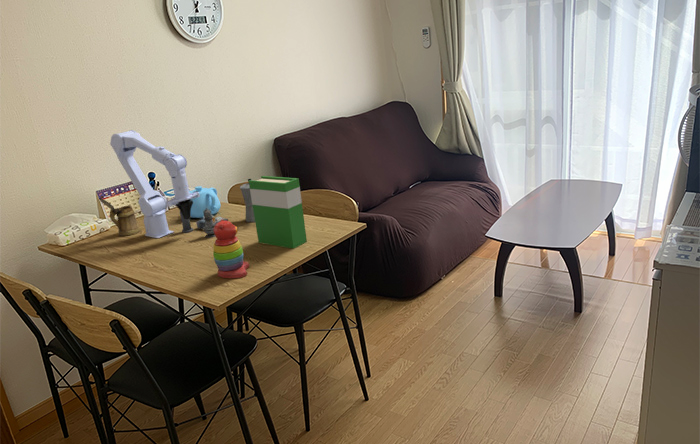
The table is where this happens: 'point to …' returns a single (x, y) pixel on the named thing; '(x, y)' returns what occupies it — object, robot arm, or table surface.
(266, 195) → the hardback book
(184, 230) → the post
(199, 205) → the decorative pot
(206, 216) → the grey tall lumpy piece
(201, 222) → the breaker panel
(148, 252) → the table surface
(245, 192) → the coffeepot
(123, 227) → the wooden mug
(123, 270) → the table surface
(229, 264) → the stacking bear
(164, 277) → the table surface
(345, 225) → the table surface
